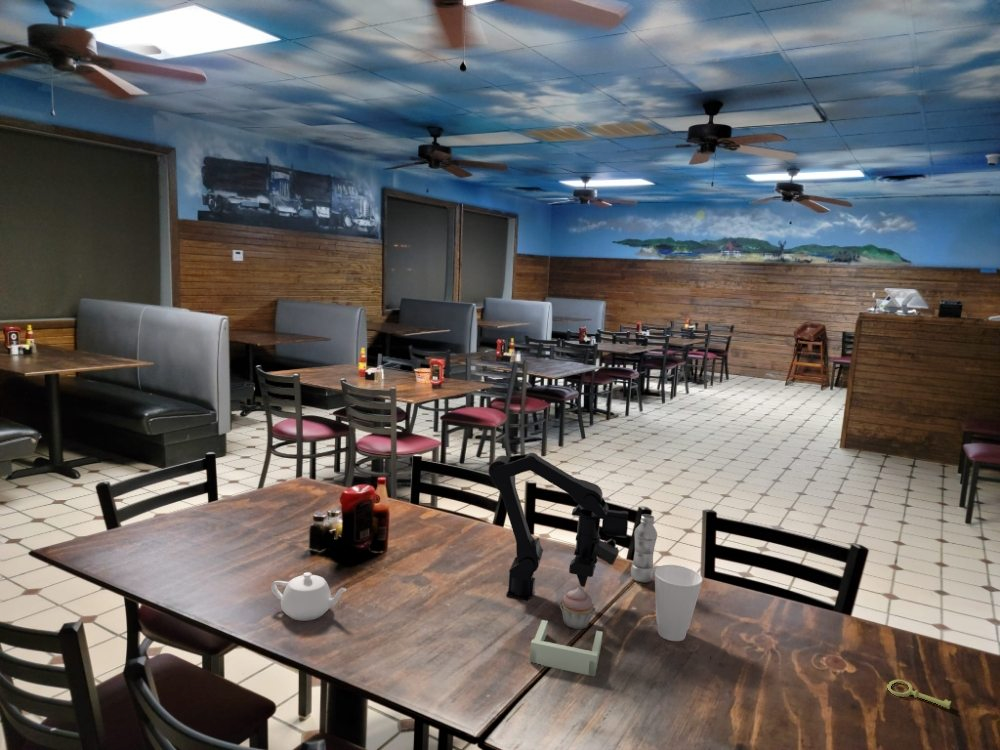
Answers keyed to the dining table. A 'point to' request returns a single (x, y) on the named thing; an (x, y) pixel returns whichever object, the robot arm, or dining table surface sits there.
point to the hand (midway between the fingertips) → (582, 586)
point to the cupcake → (577, 608)
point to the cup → (675, 599)
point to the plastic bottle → (644, 550)
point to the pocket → (564, 653)
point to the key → (917, 694)
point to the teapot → (306, 596)
